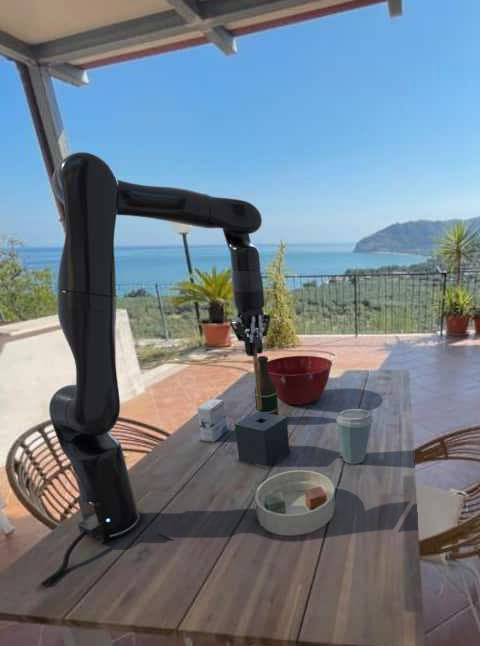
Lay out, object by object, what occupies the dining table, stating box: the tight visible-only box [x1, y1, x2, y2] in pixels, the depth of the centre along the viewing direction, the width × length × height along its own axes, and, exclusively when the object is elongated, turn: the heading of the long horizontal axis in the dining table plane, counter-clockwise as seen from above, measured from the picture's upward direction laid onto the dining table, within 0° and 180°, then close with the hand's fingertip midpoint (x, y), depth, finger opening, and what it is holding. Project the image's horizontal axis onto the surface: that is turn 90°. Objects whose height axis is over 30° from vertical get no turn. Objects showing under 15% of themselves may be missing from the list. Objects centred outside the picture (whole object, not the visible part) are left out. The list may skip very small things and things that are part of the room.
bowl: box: [254, 469, 336, 537], centre depth 92 cm, size 18×18×6 cm
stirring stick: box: [247, 335, 262, 409], centre depth 108 cm, size 3×3×21 cm
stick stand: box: [234, 411, 290, 468], centre depth 115 cm, size 11×11×12 cm
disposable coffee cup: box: [336, 408, 374, 465], centre depth 114 cm, size 11×11×15 cm
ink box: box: [197, 398, 228, 443], centre depth 129 cm, size 9×5×12 cm, turn 169°
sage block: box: [265, 492, 286, 514], centre depth 91 cm, size 4×4×4 cm
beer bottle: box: [254, 355, 279, 416], centre depth 138 cm, size 8×8×24 cm
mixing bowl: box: [268, 355, 333, 406], centre depth 160 cm, size 28×28×16 cm
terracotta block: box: [305, 486, 326, 511], centre depth 93 cm, size 4×4×4 cm
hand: (254, 354), depth 106 cm, fingers closed on stirring stick, 2 cm apart
